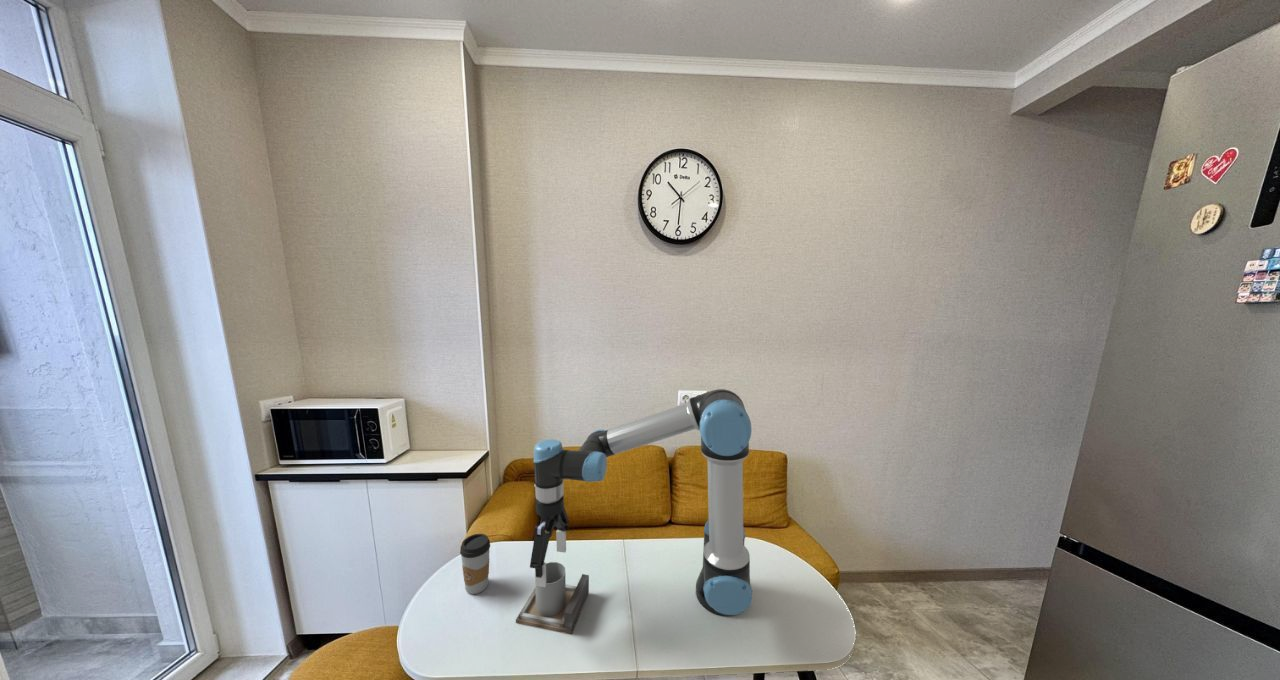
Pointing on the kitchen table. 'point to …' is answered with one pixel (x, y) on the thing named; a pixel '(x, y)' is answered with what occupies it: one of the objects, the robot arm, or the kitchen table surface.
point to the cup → (551, 591)
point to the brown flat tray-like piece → (566, 617)
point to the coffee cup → (475, 562)
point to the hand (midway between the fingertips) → (551, 567)
